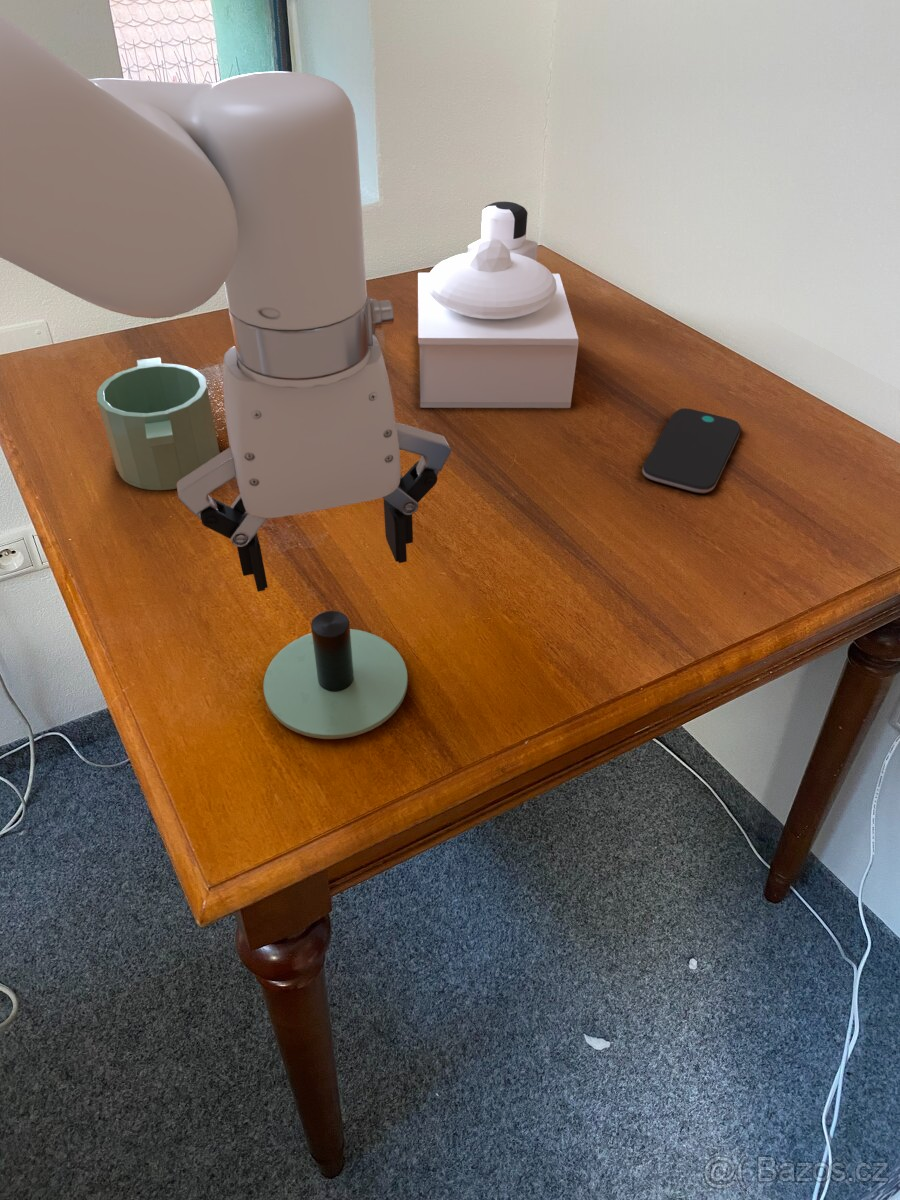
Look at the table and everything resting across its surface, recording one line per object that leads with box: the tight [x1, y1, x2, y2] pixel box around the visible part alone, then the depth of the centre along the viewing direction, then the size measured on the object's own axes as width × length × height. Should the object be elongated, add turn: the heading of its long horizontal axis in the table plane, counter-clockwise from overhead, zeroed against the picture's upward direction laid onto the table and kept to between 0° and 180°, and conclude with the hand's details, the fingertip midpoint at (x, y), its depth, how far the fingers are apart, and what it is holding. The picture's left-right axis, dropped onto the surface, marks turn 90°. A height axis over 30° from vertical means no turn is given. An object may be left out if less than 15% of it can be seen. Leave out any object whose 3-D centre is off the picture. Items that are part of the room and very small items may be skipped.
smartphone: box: [642, 407, 742, 495], centre depth 94 cm, size 8×1×15 cm
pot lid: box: [262, 610, 409, 740], centre depth 67 cm, size 11×11×7 cm
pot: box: [96, 356, 221, 491], centre depth 89 cm, size 10×16×8 cm, turn 18°
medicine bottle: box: [466, 201, 539, 261], centre depth 120 cm, size 7×7×12 cm
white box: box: [417, 239, 580, 409], centre depth 102 cm, size 18×18×16 cm
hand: (329, 564), depth 61 cm, fingers open, 9 cm apart
